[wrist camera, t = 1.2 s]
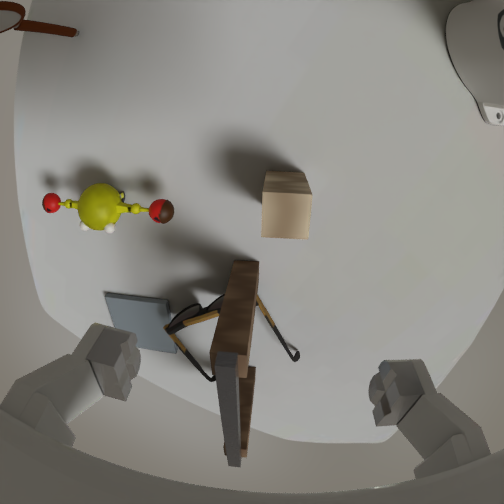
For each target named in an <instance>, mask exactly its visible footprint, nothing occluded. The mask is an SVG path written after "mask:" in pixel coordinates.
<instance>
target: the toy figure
mask: <svg viewBox="0 0 504 504" xmlns="http://www.w3.org/2000/svg"><path fill="white" fill-rule="evenodd" d="M124 200H125V193H124V192H122V193H120V194H119V193H118V191H117V190H116V189H115V188H114V187H112V186H110V185H108V184H105V183H97V184H94V185H91V186H89V187H88V188H87V189H86V190H85V191H84V192H83V193H82V195H81V196H80V199H79V201H72V200H71V199H67V200H66V201H65V202H61V200H60V197H59V196H58V195H57V194H55V193H48V194H46V195H45V197H44V198H43V202H42V205H43V208H44V210H45V211H46V212H47V213H54V212H56V211H58V210H59V208H60V206H61V205H63V206H65V207H66V208H68V209H70V208H75V209H77V210H78V213H79V217H80V219H81V222H80V228H81V229H82V230H84V231H86V230H88V229H89V228H90V229H93V230H105V232H106V233H109V234H110V233H113V232H114V230H115V225H114V224H115V223H116V222H117V221H118V219H119V217H120V215H121V213H124V212H132V213H133V214H138V213H139V212H149V215H150V217H151V218H152V220H154V221H155V222H158V223H160V222H161V223H162V224H164V223H167V222H169V221H170V220H171V219H172V217H173V215H174V207H173V205H172V203H171V202H170V201H169V200H165V199H158V200H155V201H154V202H153V203H152V204H151V205H150V207H149V208H143V207H141V206H140V205H139V204H138V203H134V204H133V205H131V204H126V203H124Z"/></svg>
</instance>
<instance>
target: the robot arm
mask: <svg viewBox="0 0 504 504" xmlns="http://www.w3.org/2000/svg"><path fill="white" fill-rule="evenodd" d="M446 39H447V45H448V50H449V53H450V56H451V59H452V62H453V64H454V67H455V69H456V71H457V73H458V75H459V76H460V78H461V80H462V81H463V83H464V84H465V86H466V87H467V88H468V90H469V91H470V92H471V93H472V95H473V96H474V97H475V99H476V101H477V103H478V106H479V109H480V111H481V114H482V117H483V119H484V120H485V122H486V123H488V124H491V125H500V126H504V0H472V1H471V2H467V3H462V4H459V5H457V6H456V7H455V8H453V10H452V11H451V12H450V14H449V16H448V19H447V24H446ZM496 114H497V116H496ZM137 342H138V340H137V336H136V334H135V333H133V332H129V331H125V330H121V329H118V328H114V327H110V326H106V325H102V324H98V323H94V324H92V325H91V326H90V328H89V329H88V330H87V332H86V333H85V335H84V336H83V338H82V339H81V341H80V342H79V344H78V346H77V347H76V349H75V350H74V352H73V353H72V355H70V354H67V355H65V356H63V357H61V358H59V359H57V360H55V361H53V362H51V363H49V364H47V365H45V366H43V367H41V368H39V369H37V370H35V371H33V372H31V373H29V374H27V375H25V376H23V377H21V378H19V379H17V380H16V381H15V382H14V384H13V385H12V387H11V389H10V390H9V392H8V393H7V395H6V397H5V398H4V400H3V401H2V403H1V404H0V504H504V449H502V450H500V451H498V452H496V453H493V454H491V453H490V450H489V447H488V444H487V442H486V439H485V436H484V434H483V431H482V429H481V427H480V426H479V425H478V424H477V423H476V422H474V421H473V420H472V419H471V418H470V417H468V416H467V415H466V414H465V413H464V412H463V411H461V410H460V409H459V408H458V407H457V406H455V405H454V404H453V403H452V402H450V401H449V400H448V399H447V398H446V397H445V396H443V395H442V394H441V393H437V391H436V389H435V387H434V384H433V382H432V380H431V377H430V375H429V373H428V370H427V368H426V366H425V364H424V362H423V361H422V360H421V359H413V360H384V361H383V362H381V364H380V366H379V367H378V368H379V371H380V372H379V373H377V374H376V375H374V376H373V378H372V380H371V381H370V385H369V398H370V401H371V402H372V403H373V404H374V405H375V407H374V409H373V415H374V419H375V424H376V426H390V425H397V427H398V429H399V430H400V431H401V432H402V433H403V435H404V436H405V437H406V438H407V439H408V440H409V442H410V443H411V444H412V445H413V446H414V448H415V449H416V450H417V451H418V452H419V454H420V455H421V456H422V457H423V458H424V461H422V462H421V463H420V464H419V465H417V466H416V467H415V469H414V474H415V478H416V479H414V480H410V481H405V482H400V483H395V484H390V485H384V486H379V487H372V488H365V489H357V490H348V491H338V492H324V493H263V492H248V491H237V490H228V489H219V488H213V487H206V486H199V485H195V484H189V483H184V482H179V481H174V480H170V479H165V478H161V477H157V476H153V475H150V474H145V473H142V472H139V471H135V470H132V469H129V468H126V467H122V466H119V465H116V464H114V463H111V462H108V461H105V460H102V459H100V458H97V457H94V456H92V455H89V454H87V453H84V452H82V451H79V450H77V449H75V448H72V446H73V443H74V441H75V435H74V433H73V432H72V431H71V430H70V428H69V427H68V425H67V424H68V423H69V422H70V421H72V420H73V419H74V418H76V417H77V416H78V415H80V414H81V413H82V412H84V411H85V410H86V409H88V408H89V407H90V406H92V405H93V404H94V403H96V402H97V401H98V400H100V399H101V398H102V397H103V395H105V396H108V397H112V398H115V399H119V400H123V401H126V400H127V398H128V395H129V393H130V390H131V388H132V384H131V379H133V378H135V377H136V376H137V374H138V371H139V368H140V363H141V355H140V350H139V349H138V348H137V347H136V344H137Z"/></svg>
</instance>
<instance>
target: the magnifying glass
mask: <svg viewBox="0 0 504 504" xmlns="http://www.w3.org/2000/svg"><path fill="white" fill-rule="evenodd" d="M24 16H25V8H24V7H23V6H22V5H20V4H17V3H14V2H7V1H0V33H2V32H4V31H7V30H9V29H12V28H14V30H19V31H31V32H40V33H48V34H55V35H61V36H68V37H74V36H77V35H78V34H79V31H77V30H76V29H75V28H70V27H65V26H60V25H55V24H49V23H43V22H37V21H30V20H23V19H24Z"/></svg>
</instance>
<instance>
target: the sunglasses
mask: <svg viewBox="0 0 504 504" xmlns="http://www.w3.org/2000/svg"><path fill="white" fill-rule="evenodd" d="M224 296H225V294H223V295H221V296H220V297H218V298H217V299H216V300H215V301H214V302H212V303H211V304H210V305H209V306H207V307H205V308H202V306H201V304H199V303H198V304H194V305H191V306H189V307H187V308H185V309H183V310H182V311H181V312H179V313H178V314H177V315H176V316H175V317H174V318H173V319H172V321H171V322H170V323H169V324H166V325H165V326H164V327H163V329H164V330H165V331H166V333H167V334H168V335H169V336H170V338H171V339H172V340H173V341H174V342H175V344H176V345H177V346H178V348H179V349H180V350H181V351H182V352H183V354H184V355H185V356H186V357H187V358H188V359H189V360H190V361H191V363H192V364H193V365H194V366H195V367H196V368H197V369H198V370H199V371H200V372H201V373H202V375H203V376H204V377H205V378H206V379H207V380H209V381H210V382H213V381H216V375H214V376H213V377H212V378H210V377H209V376H208V375H207V374H206V373H205V372H204V370H203V369H202V368H201V366H200V365H199V364H198V362H197V361H196V360H195V359H194V358H193V356H192V355H191V354H190V353H189V352H188V350H187V349H186V348H185V347H184V346H183V344H182V343H181V342H180V341H179V339H178V338H177V337H176V336H175V334H174V333H175V332H177V331H179V330H181V329H183V328H185V327H187V326H189V325H192V324H196V323H199V322H202V321H205V320H208V319H211V318H214V317H217V316H219V315H220V311H221V307H222V303H223V300H224ZM257 305H258V306H259V308H260V309H261V311H262V313H263V314H264V316H265V318H266V319H267V321H268V323H269V324H270V326H271V328H272V329H273V331H274V332H275V334H276V335H277V337H278V339H279V340H280V342H281V343H282V345H283V347H284V348H285V350H286V351H287V353H288V354H289V356H290V358H291V359H292V360H293V361H294V362H296V361H298V360H299V358H300V353H299V351H296V353H295V356H294V357H293V355H292V354H291V352H290V350H289V349H288V347H287V345H286V343H285V341H284V339H283V338H282V336H281V334H280V332H279V331H278V329H277V327H276V326H275V323H274V322H273V320H272V318H271V316H270V315H269V313H268V311H267V310H266V308H265V307H264V305H263V303H262V302H261V300H260V298H259V297H258V295H257V297H256V306H257Z"/></svg>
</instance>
